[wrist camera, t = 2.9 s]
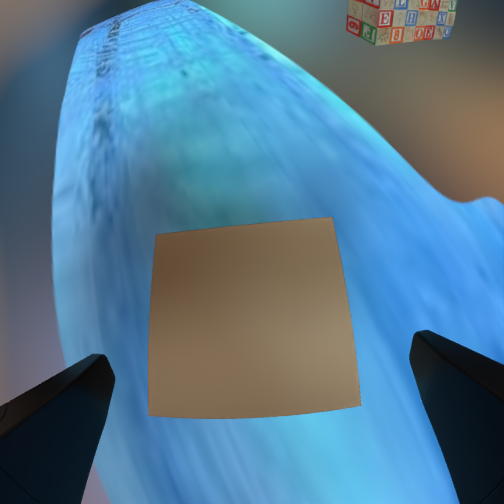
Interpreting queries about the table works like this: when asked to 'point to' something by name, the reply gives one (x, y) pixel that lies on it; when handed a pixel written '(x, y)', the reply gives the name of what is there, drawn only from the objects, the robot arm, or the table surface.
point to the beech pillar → (250, 323)
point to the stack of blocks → (400, 20)
